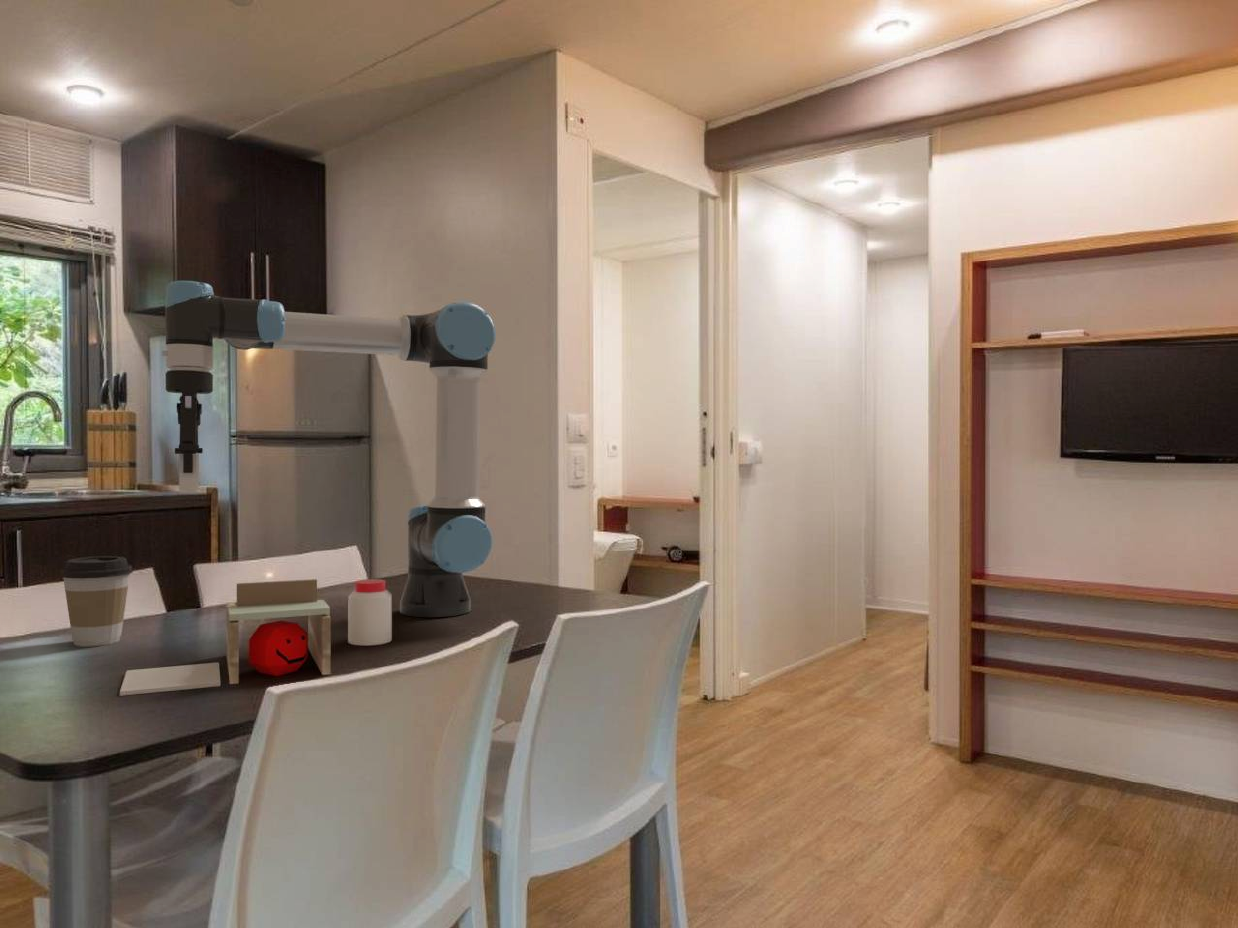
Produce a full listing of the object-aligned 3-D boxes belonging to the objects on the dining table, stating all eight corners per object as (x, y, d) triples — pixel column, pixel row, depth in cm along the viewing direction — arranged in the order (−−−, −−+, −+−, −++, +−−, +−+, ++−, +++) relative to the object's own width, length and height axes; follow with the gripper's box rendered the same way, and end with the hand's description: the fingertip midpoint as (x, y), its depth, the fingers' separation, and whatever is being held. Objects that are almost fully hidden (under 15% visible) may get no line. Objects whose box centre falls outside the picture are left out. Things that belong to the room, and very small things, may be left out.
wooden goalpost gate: (315, 647, 155) (315, 597, 155) (330, 674, 137) (330, 616, 137) (226, 655, 149) (226, 602, 149) (229, 684, 131) (230, 624, 131)
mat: (218, 665, 142) (218, 662, 142) (220, 685, 130) (220, 681, 130) (126, 674, 136) (126, 670, 136) (119, 695, 124) (119, 691, 124)
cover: (323, 605, 145) (323, 578, 145) (329, 613, 138) (329, 585, 138) (228, 611, 139) (228, 583, 139) (229, 620, 132) (229, 591, 132)
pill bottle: (400, 638, 164) (400, 579, 164) (375, 647, 156) (375, 585, 156) (364, 635, 166) (365, 577, 166) (339, 643, 159) (339, 583, 159)
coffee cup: (147, 639, 161) (147, 557, 161) (87, 652, 151) (86, 565, 150) (106, 633, 166) (106, 554, 165) (45, 645, 155) (45, 560, 155)
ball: (274, 680, 133) (275, 630, 133) (240, 673, 137) (240, 625, 137) (316, 669, 140) (316, 622, 140) (282, 663, 144) (282, 617, 144)
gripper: (169, 375, 165) (169, 487, 165) (161, 363, 142) (161, 494, 142) (213, 376, 168) (213, 487, 168) (212, 365, 145) (212, 493, 145)
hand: (189, 491), depth 155 cm, fingers open, 13 cm apart
